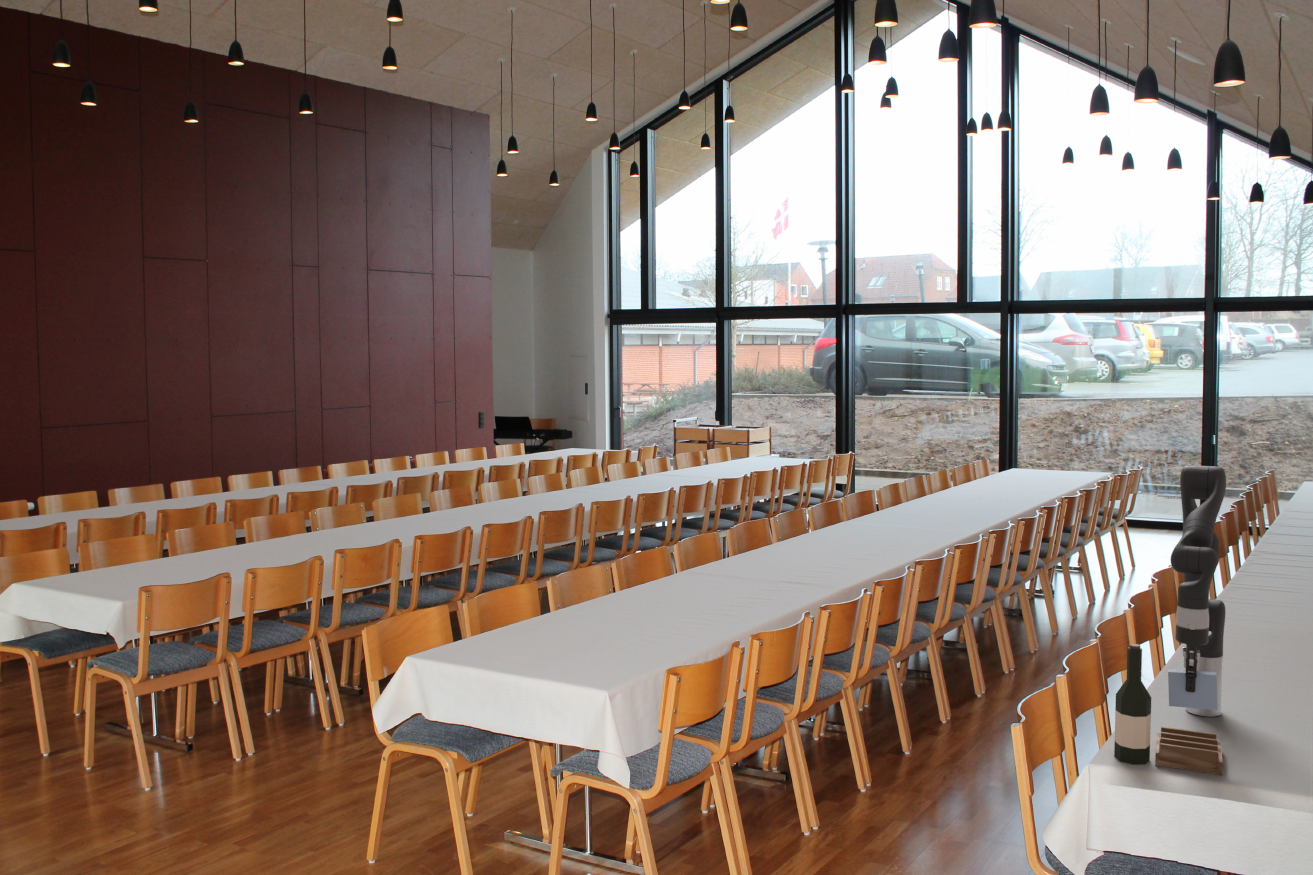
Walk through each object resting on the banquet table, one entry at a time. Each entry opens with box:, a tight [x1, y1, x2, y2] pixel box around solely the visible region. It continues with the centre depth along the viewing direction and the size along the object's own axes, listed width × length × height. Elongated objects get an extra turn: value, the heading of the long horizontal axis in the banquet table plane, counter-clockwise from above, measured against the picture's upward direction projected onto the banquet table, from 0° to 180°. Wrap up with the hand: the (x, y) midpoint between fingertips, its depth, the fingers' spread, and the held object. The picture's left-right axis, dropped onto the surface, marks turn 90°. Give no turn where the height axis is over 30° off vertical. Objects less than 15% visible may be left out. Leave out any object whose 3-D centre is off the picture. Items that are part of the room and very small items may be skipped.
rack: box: [1154, 726, 1223, 776], centre depth 270 cm, size 16×15×5 cm
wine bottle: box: [1113, 643, 1152, 766], centre depth 270 cm, size 8×8×30 cm
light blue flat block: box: [1167, 668, 1217, 710], centre depth 269 cm, size 2×11×9 cm, turn 63°
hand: (1190, 689), depth 269 cm, fingers closed on light blue flat block, 2 cm apart
